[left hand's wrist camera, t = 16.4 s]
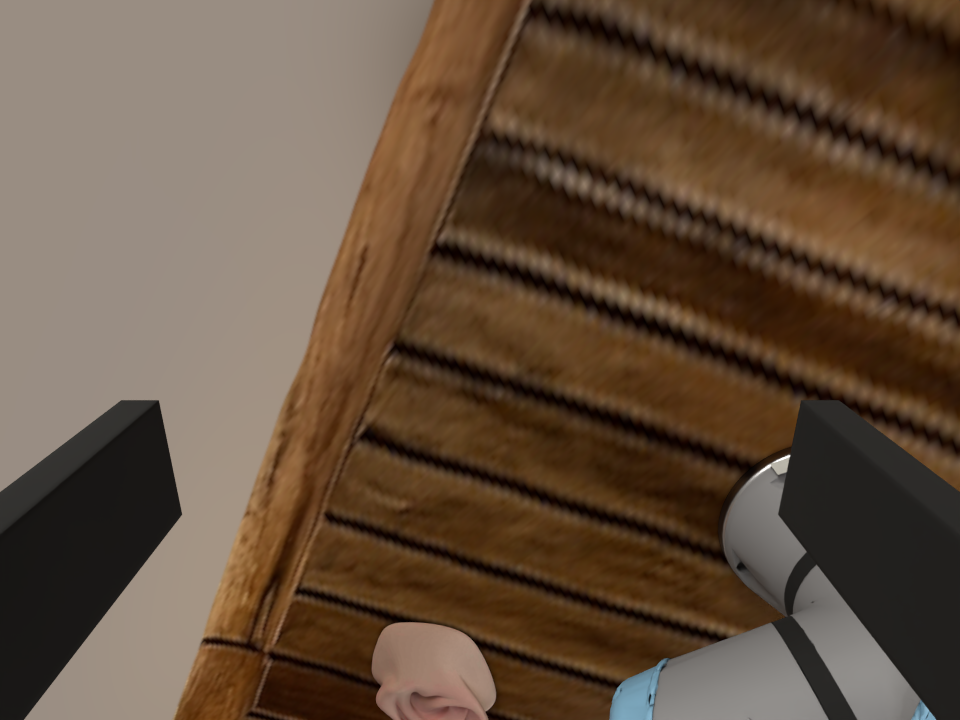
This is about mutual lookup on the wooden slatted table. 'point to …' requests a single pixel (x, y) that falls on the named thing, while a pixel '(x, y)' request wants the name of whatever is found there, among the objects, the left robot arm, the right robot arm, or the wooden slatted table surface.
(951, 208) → the wooden slatted table surface
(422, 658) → the anatomical model
